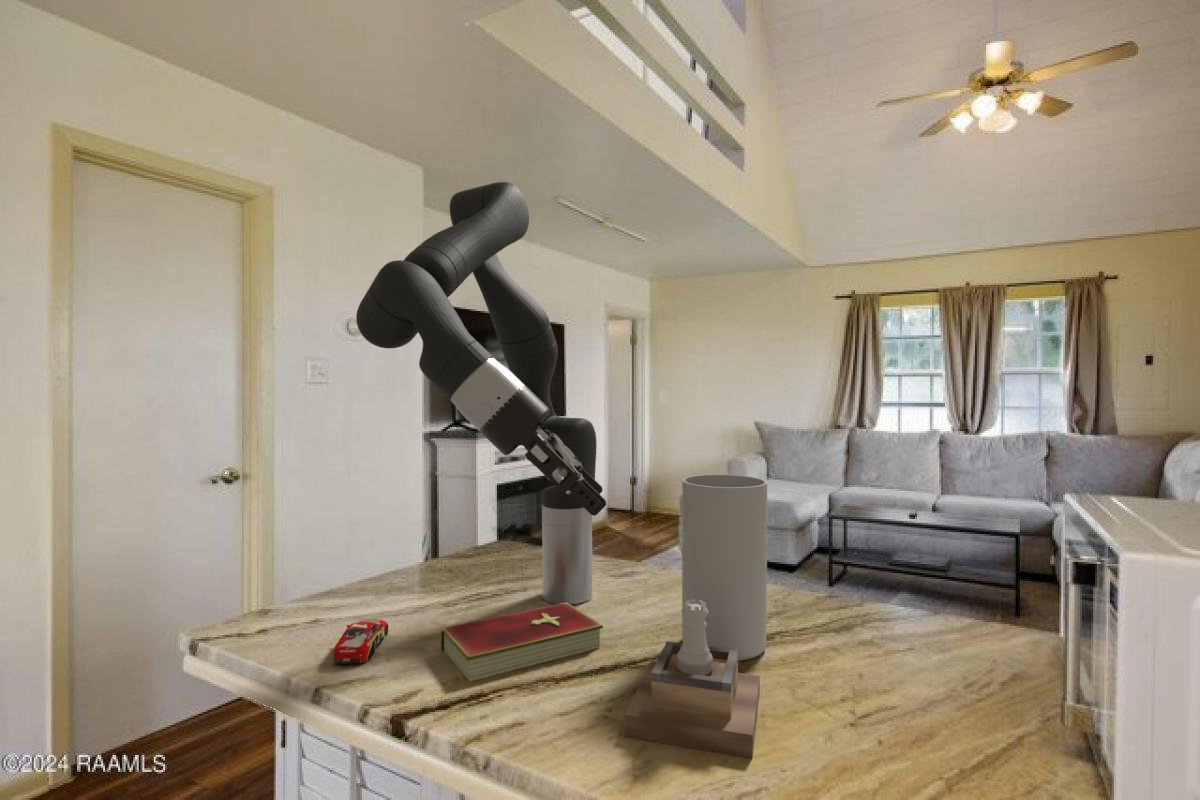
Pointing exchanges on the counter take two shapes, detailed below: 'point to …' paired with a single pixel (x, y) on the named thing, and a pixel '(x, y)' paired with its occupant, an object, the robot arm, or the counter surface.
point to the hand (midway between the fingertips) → (599, 502)
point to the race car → (360, 641)
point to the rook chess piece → (695, 641)
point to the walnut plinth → (695, 723)
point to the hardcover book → (519, 639)
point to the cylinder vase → (727, 558)
